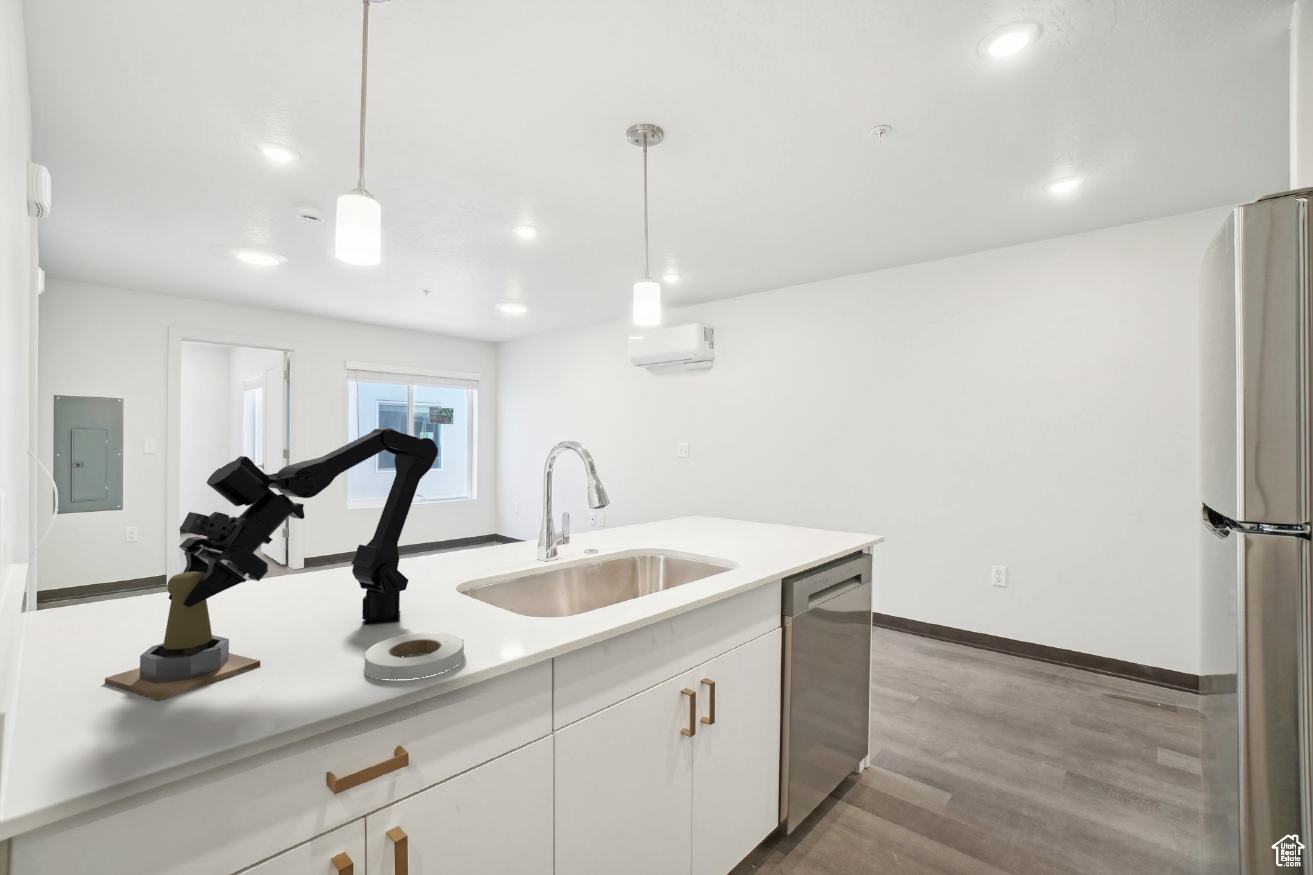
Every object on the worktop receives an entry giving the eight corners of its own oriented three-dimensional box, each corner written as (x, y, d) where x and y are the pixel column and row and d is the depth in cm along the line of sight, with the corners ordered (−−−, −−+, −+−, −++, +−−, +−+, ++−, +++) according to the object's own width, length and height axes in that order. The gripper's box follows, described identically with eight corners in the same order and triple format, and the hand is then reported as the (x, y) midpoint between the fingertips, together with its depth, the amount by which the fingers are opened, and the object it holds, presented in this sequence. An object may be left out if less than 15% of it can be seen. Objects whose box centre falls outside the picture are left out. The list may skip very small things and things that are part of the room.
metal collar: (201, 653, 96) (202, 632, 96) (239, 663, 93) (240, 641, 93) (128, 675, 87) (129, 652, 87) (167, 687, 83) (167, 663, 83)
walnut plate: (207, 652, 99) (207, 647, 99) (260, 665, 94) (260, 660, 94) (104, 683, 86) (104, 677, 86) (159, 700, 81) (159, 695, 81)
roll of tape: (387, 692, 85) (387, 673, 85) (350, 663, 96) (350, 646, 96) (480, 664, 97) (481, 647, 97) (438, 641, 107) (438, 626, 107)
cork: (219, 640, 91) (220, 571, 91) (172, 652, 86) (173, 579, 86) (202, 633, 94) (203, 566, 94) (156, 644, 89) (157, 574, 89)
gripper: (194, 489, 98) (108, 565, 89) (246, 497, 89) (156, 583, 79) (245, 529, 105) (170, 603, 96) (299, 539, 95) (222, 623, 86)
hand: (178, 602), depth 89 cm, fingers closed on cork, 5 cm apart
